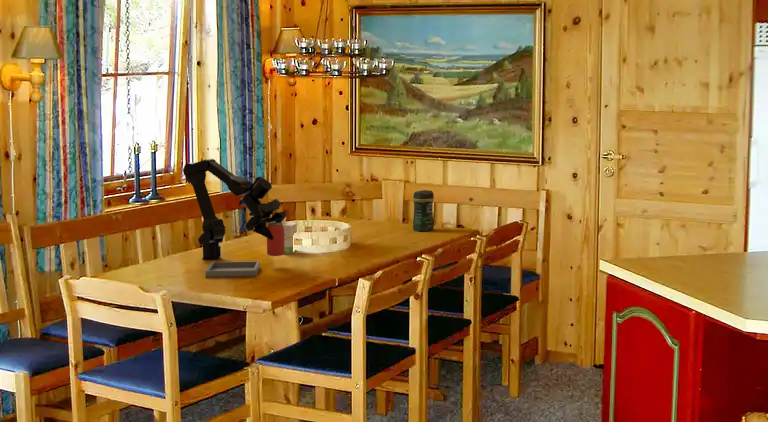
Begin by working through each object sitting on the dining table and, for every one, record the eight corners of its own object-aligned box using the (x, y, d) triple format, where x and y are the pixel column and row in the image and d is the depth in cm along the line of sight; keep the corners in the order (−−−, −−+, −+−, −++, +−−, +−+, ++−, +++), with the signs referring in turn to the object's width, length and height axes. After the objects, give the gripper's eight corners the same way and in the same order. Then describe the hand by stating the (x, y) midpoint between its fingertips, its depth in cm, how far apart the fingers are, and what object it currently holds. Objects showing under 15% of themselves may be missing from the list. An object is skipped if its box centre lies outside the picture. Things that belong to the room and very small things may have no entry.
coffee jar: (423, 232, 474) (423, 191, 471) (410, 230, 479) (410, 190, 477) (436, 229, 481) (436, 189, 479) (423, 228, 486) (423, 188, 484)
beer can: (270, 256, 391) (270, 225, 389) (264, 254, 397) (264, 223, 395) (287, 255, 394) (286, 224, 392) (280, 252, 400) (280, 221, 398)
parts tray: (205, 277, 376) (205, 271, 375) (212, 268, 393) (211, 261, 393) (255, 277, 376) (255, 270, 376) (260, 267, 394) (259, 261, 394)
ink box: (291, 254, 422) (290, 218, 420) (279, 253, 423) (279, 217, 421) (297, 250, 431) (296, 215, 429) (286, 250, 432) (285, 214, 430)
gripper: (250, 195, 387) (274, 227, 382) (282, 190, 402) (305, 221, 398) (234, 214, 392) (258, 246, 388) (266, 209, 407) (289, 239, 403)
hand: (278, 237), depth 394 cm, fingers closed on beer can, 6 cm apart
